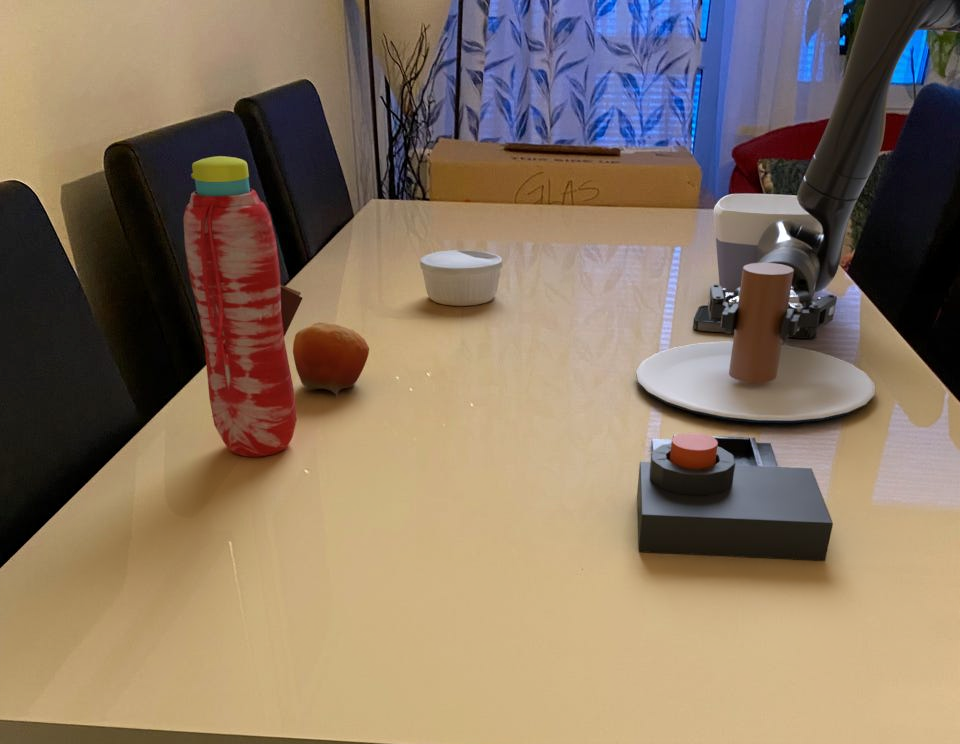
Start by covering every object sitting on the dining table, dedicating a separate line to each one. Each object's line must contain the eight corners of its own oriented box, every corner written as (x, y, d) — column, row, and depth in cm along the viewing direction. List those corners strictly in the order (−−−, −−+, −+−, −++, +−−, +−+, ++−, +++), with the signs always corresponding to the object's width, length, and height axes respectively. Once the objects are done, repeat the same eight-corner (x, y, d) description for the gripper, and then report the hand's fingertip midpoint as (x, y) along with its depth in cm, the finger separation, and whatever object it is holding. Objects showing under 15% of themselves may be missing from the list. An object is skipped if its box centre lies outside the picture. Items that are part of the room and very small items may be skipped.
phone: (817, 330, 119) (692, 320, 123) (816, 339, 120) (691, 329, 124) (819, 312, 126) (700, 304, 129) (817, 321, 126) (699, 312, 130)
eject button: (668, 452, 81) (670, 431, 80) (713, 453, 80) (716, 433, 79) (670, 470, 78) (672, 449, 77) (717, 472, 77) (719, 451, 76)
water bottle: (259, 414, 101) (222, 143, 87) (330, 423, 99) (303, 147, 85) (195, 459, 92) (142, 163, 78) (272, 470, 89) (231, 168, 76)
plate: (616, 354, 116) (616, 343, 116) (823, 347, 118) (825, 337, 117) (663, 434, 96) (664, 422, 95) (914, 425, 97) (917, 413, 96)
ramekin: (514, 292, 140) (515, 253, 137) (481, 312, 132) (481, 271, 129) (444, 284, 144) (443, 246, 141) (407, 303, 136) (405, 263, 133)
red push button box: (636, 494, 85) (641, 439, 82) (804, 502, 83) (815, 446, 80) (638, 552, 76) (643, 492, 73) (825, 561, 75) (838, 500, 72)
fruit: (275, 389, 103) (283, 311, 103) (304, 404, 111) (311, 332, 110) (348, 394, 101) (356, 316, 101) (372, 409, 109) (380, 337, 109)
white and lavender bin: (699, 297, 137) (708, 211, 131) (711, 271, 149) (720, 191, 143) (814, 305, 133) (829, 217, 127) (817, 277, 145) (831, 195, 139)
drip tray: (651, 444, 94) (652, 426, 93) (769, 448, 93) (772, 430, 92) (654, 494, 85) (656, 474, 84) (785, 499, 83) (789, 480, 82)
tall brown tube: (749, 364, 109) (764, 260, 103) (786, 376, 106) (804, 269, 100) (719, 373, 106) (732, 267, 100) (756, 386, 103) (772, 277, 97)
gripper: (721, 247, 114) (691, 282, 101) (851, 257, 109) (837, 295, 96) (713, 313, 118) (683, 355, 105) (838, 325, 114) (822, 370, 101)
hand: (757, 326), depth 101 cm, fingers closed on tall brown tube, 5 cm apart
